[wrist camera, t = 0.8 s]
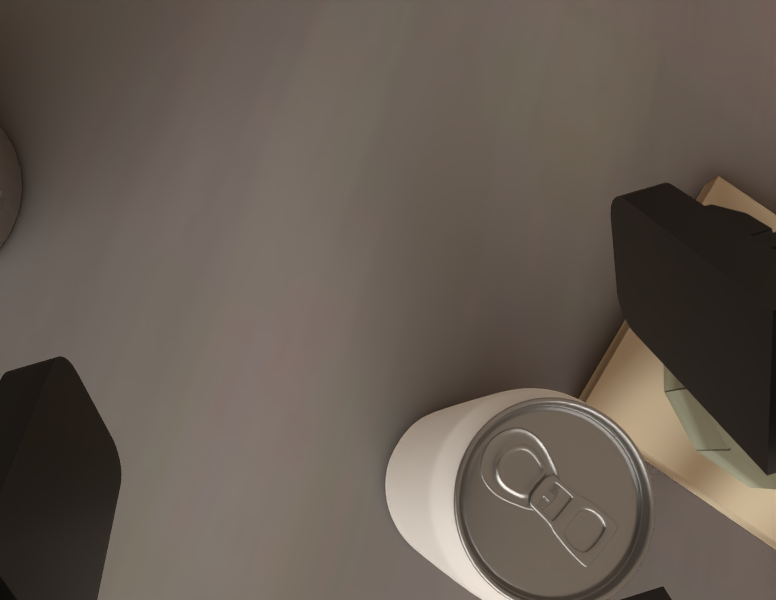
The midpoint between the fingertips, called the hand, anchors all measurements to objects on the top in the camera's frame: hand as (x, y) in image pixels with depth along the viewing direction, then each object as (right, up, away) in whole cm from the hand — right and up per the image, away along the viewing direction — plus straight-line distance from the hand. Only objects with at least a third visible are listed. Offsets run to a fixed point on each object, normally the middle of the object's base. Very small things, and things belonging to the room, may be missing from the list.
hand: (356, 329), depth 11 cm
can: (+3, -7, +21) cm, 23 cm away
